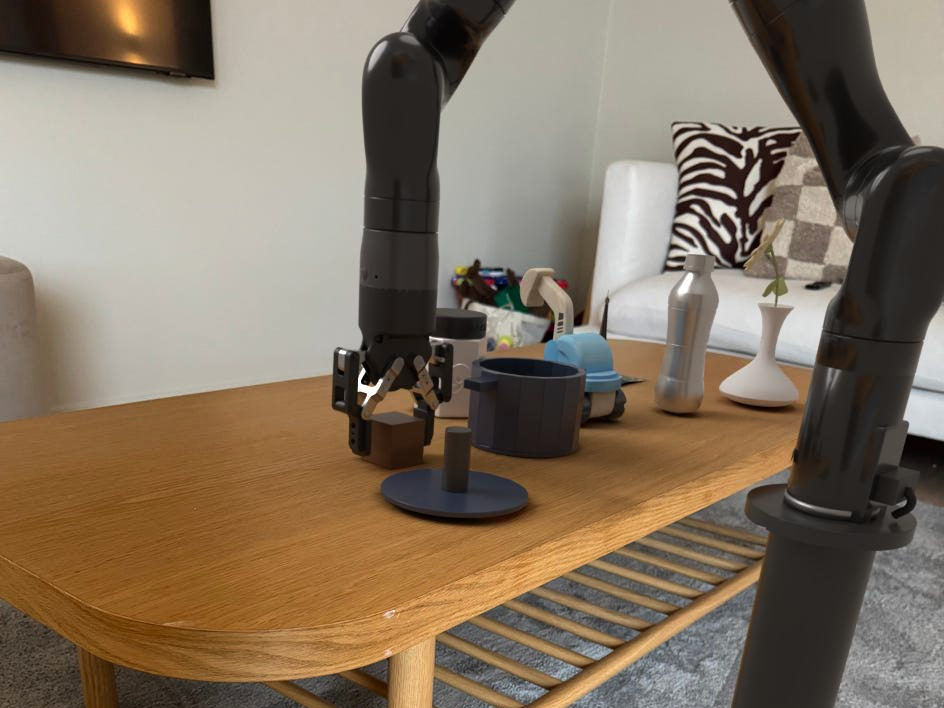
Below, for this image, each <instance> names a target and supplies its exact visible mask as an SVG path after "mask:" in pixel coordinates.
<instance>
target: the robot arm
mask: <svg viewBox="0 0 944 708" xmlns="http://www.w3.org/2000/svg"><path fill="white" fill-rule="evenodd" d="M516 1H517V0H419V1H418V2H417V4H416V5H415V7H414V8H413V10H412V12H411V13H410V14H409V16H408V18H407V19H406V21H405V22H404V24H403V26H401V28H400V30H399V31H395V32H391V33H388V34H386V35H384V36H383V37H381V38H380V39H379V40H377V41H376V42H375V44H374V45H373V46H372V47H371V49H370V50H369V52H368V54H367V56H366V59H365V62H364V65H363V69H362V74H361V118H362V134H363V146H364V148H363V149H364V154H365V157H364V158H365V175H364V176H365V178H364V187H363V188H364V189H363V195H364V196H363V219H362V220H363V221H362V223H363V225H362V226H363V228H362V235H361V236H362V237H361V244H360V249H359V250H360V251H359V272H358V274H359V275H358V276H359V277H358V313H357V314H358V318H357V322H358V323H357V324H358V325H357V326H358V328H359V330H360V332H361V336H362V338H361V339H362V340H361V343H360V346H359V348H357V349H349V348H345V347H341V346H336V347H335V348H334V350H333V357H332V385H331V409H332V410H333V411H335V412H339V413H343V414H345V415H346V416H347V417H348V447H349V449H350V450H351V453H352V454H353V455H356V456H358V457H361V458H362V457H367V456H370V454H371V431H372V420H370V419H369V418H370V417H371V415H372V414H373V413H374V411H375V409H376V407H377V405H378V403H380V402H383V401H384V399H385V398H386V396H387V394H388V393H393V392H398V391H399V390H407V391H408V392H409V394H410V396H411V398H412V400H413V402H415V404H416V405H418V407H416V408H414V407H413V411H412V413H413V414H412V416H414V417H417V418H420V419H424V420H425V434H424V447H429V446H431V444H432V440H433V437H434V434H435V418H436V416H435V410H436V409H437V408H438V406H439V404H441V403H443V402H449V401H450V400H451V398H452V378H453V353H454V347H453V345H452V344H450V343H446V342H442V341H437V340H432V341H431V342H430V339H429V336H431V335H433V334H434V332H435V329H436V311H437V308H438V292H439V275H440V274H439V273H440V248H439V247H440V246H439V224H440V210H441V209H440V208H441V180H440V173H439V168H438V154H439V141H440V126H441V113H443V111H444V109H446V106H447V105H448V104H449V102H450V101H451V100H452V97H453V96H454V94H456V91H457V90H458V88H459V86H460V85H461V83H462V81H463V80H464V78H465V77H466V75H467V73H468V72H469V70H470V67H471V66H472V64H473V62H474V61H475V59H476V57H477V55H478V54H479V52H480V50H481V48H482V47H483V46H484V44H485V43H486V41H487V40H488V38H489V37H490V36H491V35H492V33H493V32H494V31H495V30H496V29H497V27H498V26H499V25H500V24H501V23H502V21H503V20H504V19H505V17H506V16H507V14H508V13H509V12H510V10H511V9H512V7H513V6H514V4H515V3H516ZM727 2H728V4H729V5H730V8H731V10H732V11H733V14H734V16H735V17H736V19H737V21H738V23H739V25H740V27H741V29H742V30H743V32H744V34H745V36H746V38H747V40H748V42H749V43H750V46H751V47H752V49H753V50H754V53H755V54H756V56H757V58H758V59H759V61H760V63H761V64H762V65H763V68H764V70H765V71H766V73H767V75H768V76H769V78H770V80H771V82H772V84H773V86H774V87H775V89H776V90H777V92H778V94H779V96H780V97H781V98H782V100H783V102H784V104H785V105H786V107H787V108H788V110H789V111H790V113H791V115H792V116H793V118H794V119H795V121H796V123H797V124H798V126H799V127H800V129H801V131H802V133H803V134H804V136H805V139H806V140H807V142H808V145H809V146H810V148H811V151H812V153H813V156H814V158H815V160H816V163H817V166H818V168H819V170H820V173H821V176H822V178H823V181H824V183H825V185H826V189H827V191H828V194H829V196H830V200H831V202H832V204H833V207H834V210H835V213H836V216H837V218H838V220H839V223H840V225H841V228H842V230H843V232H844V234H845V235H846V237H847V238H848V239H849V241H850V242H851V243H852V244H853V245H852V248H851V253H850V257H849V260H848V264H847V268H846V272H845V275H844V279H843V282H842V283H841V286H840V287H839V289H838V291H837V292H836V294H835V295H834V296H833V297H832V298H831V299H830V300H829V302H828V304H827V306H826V310H825V314H824V318H823V323H822V327H821V328H822V329H821V332H820V336H819V337H820V338H819V342H818V346H817V350H816V355H815V361H814V364H813V369H812V373H811V377H810V382H809V386H808V391H807V395H806V400H805V404H804V409H803V413H802V419H801V422H800V426H799V430H798V435H797V440H796V443H795V444H796V445H795V446H794V448H793V450H792V452H791V453H792V454H791V457H790V462H789V463H791V468H790V471H789V478H788V479H787V488H786V490H785V494H784V498H783V501H784V503H785V504H786V505H788V506H789V507H791V508H793V509H795V510H797V511H799V512H802V513H805V514H808V515H812V516H815V517H820V518H824V519H830V520H837V521H847V522H852V523H856V524H864V523H866V522H868V521H871V520H873V519H876V518H878V517H880V516H882V515H884V514H885V513H886V510H887V506H888V505H890V506H894V505H898V504H901V503H903V502H905V501H906V503H905V504H904V505H902V506H900V507H901V508H899V509H896V510H895V511H893V512H891V515H892V517H893V518H894V519H898V518H899V517H902V516H904V515H906V514H908V513H912V512H913V510H914V509H915V508H916V506H917V501H918V500H917V496H916V490H917V486H918V483H919V480H920V475H921V471H919V470H915V469H910V468H906V467H902V466H900V465H899V464H900V462H901V458H902V454H903V451H904V446H905V443H906V440H907V436H908V432H909V428H910V422H909V421H908V420H906V419H904V418H905V415H906V410H907V407H908V402H909V399H910V396H911V391H912V389H913V384H914V382H915V377H916V374H917V373H916V372H917V370H918V365H919V362H920V358H921V355H922V351H923V347H924V344H925V342H924V341H925V340H926V337H927V333H928V329H929V326H930V324H931V322H932V320H933V319H934V318H935V316H936V315H937V314H938V311H939V310H940V308H941V307H942V304H943V301H944V147H941V146H936V145H917V144H916V143H915V141H914V140H913V138H912V137H911V136H910V134H909V132H908V131H907V129H906V127H905V126H904V124H903V123H902V121H901V118H899V116H898V113H897V112H896V110H895V108H894V106H893V105H892V103H891V101H890V99H889V97H888V94H887V93H886V91H885V89H884V86H883V83H882V80H881V78H880V74H879V69H878V67H877V63H876V57H875V52H874V46H873V40H872V39H873V38H872V32H871V26H870V21H869V15H868V10H867V6H866V2H865V0H727ZM428 361H429V363H428ZM427 363H428V372H427V369H426V365H427ZM439 378H440V379H441V389H440V388H439ZM370 384H372V386H370Z"/></svg>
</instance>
